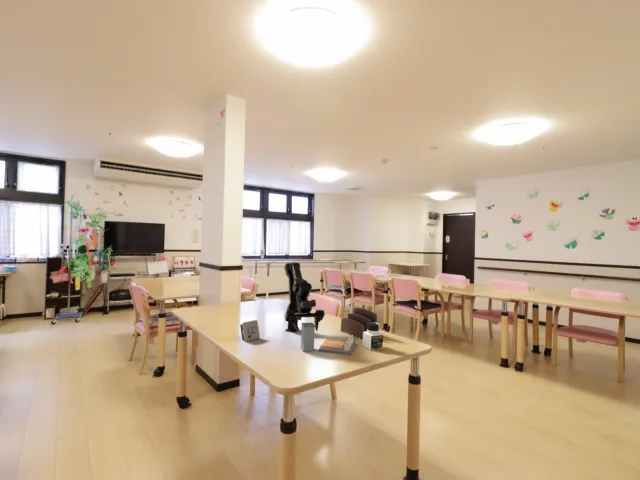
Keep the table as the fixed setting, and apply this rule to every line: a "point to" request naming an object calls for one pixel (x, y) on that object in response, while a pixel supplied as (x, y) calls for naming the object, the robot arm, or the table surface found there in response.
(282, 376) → the table surface
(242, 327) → the electrical switch
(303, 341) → the cap
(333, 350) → the board
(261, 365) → the table surface
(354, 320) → the letter holder
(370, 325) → the medicine bottle
